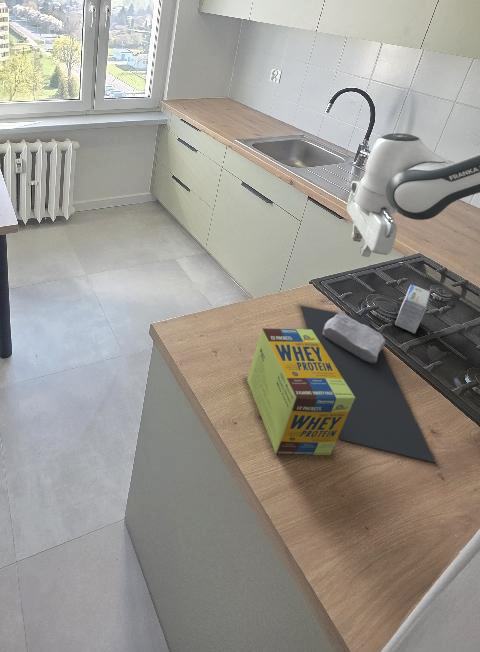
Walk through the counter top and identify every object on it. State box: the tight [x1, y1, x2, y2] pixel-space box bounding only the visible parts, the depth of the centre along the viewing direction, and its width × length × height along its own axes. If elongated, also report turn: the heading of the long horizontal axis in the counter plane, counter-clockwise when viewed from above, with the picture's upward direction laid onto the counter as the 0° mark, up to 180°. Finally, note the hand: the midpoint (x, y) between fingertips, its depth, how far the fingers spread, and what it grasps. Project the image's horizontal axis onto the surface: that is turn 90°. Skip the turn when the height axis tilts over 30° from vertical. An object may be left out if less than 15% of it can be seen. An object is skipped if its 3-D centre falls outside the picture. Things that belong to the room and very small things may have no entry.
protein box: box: [246, 327, 355, 456], centre depth 79 cm, size 10×15×16 cm
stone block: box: [323, 311, 386, 364], centre depth 100 cm, size 12×5×10 cm
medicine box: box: [394, 284, 431, 334], centre depth 106 cm, size 8×4×9 cm, turn 137°
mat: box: [300, 305, 436, 464], centre depth 93 cm, size 16×36×1 cm, turn 166°
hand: (359, 247), depth 104 cm, fingers open, 5 cm apart
